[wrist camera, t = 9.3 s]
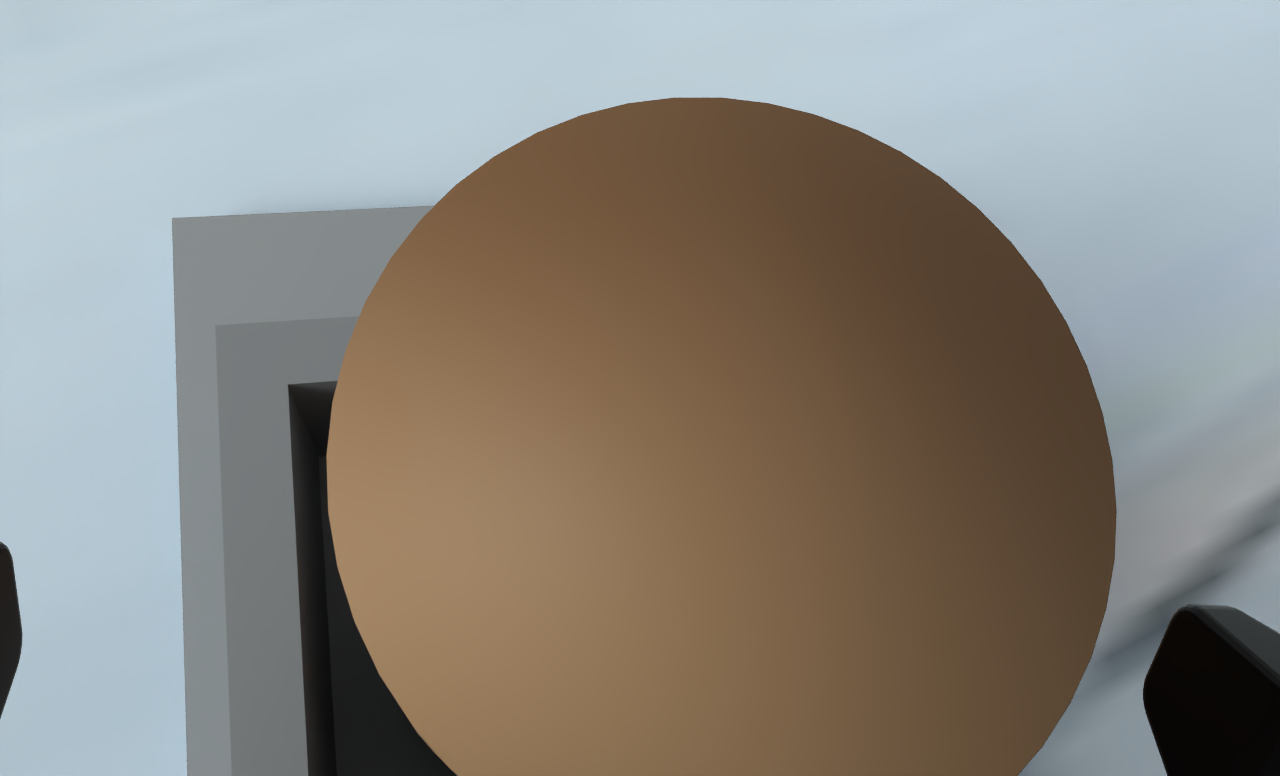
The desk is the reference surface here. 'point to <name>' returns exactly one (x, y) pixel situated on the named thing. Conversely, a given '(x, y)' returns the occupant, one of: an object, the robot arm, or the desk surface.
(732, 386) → the walnut peg
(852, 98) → the desk surface
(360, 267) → the socket block
